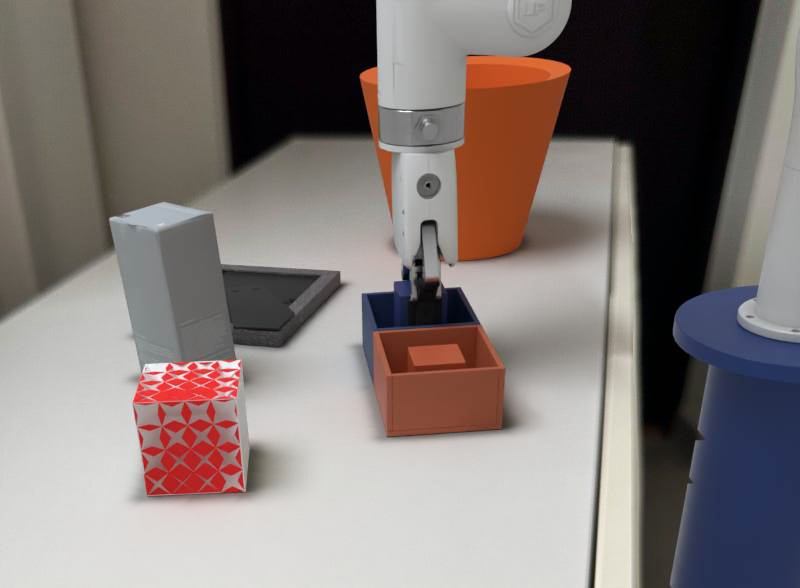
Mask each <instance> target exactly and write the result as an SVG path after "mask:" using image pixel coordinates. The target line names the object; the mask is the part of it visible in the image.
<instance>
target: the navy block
mask: <svg viewBox="0 0 800 588" xmlns="http://www.w3.org/2000/svg"><path fill="white" fill-rule="evenodd" d="M417 281H418V280H417ZM445 288H446V287H445V286H444V283H443V282H442V281H441V298H442V324H447V292H446V290H445ZM393 291H394V327H407V300H410V299H411V298H410V280H406V281H402V280H395V281H393Z"/></svg>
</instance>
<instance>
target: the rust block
mask: <svg viewBox="0 0 800 588" xmlns="http://www.w3.org/2000/svg"><path fill="white" fill-rule="evenodd" d="M455 369H466V361H465V359H464V357H463V355H462V353H461V351H460V349H459V347H458V344H447V345H432V346H417V347H408V373H410V372H425V371H440V370H455Z"/></svg>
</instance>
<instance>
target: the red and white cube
mask: <svg viewBox="0 0 800 588" xmlns="http://www.w3.org/2000/svg"><path fill="white" fill-rule="evenodd" d="M244 381H245V380H244V370H243V359H236V360H220V361H199V362H177V363H156V364H145V366H144V369H143V372H142V374H141V375H140V378H139V381H138V385H137V388H136V391H135V394H134V397H133V400H132V409H133V415H134V420H135V427H136V435H137V440H138V446H139V452H140V460H141V466H142V472H143V473H142V474H143V478H144V479H143V480H144V484H145V492H146V496H147V497H157V496H159V497H160V496H179V495H180V496H181V495H201V494H203V495H204V494H225V493H246V492H247V481H248V472H249V471H248V470H249V459H250V449H251V447H250V438H249V423H248V413H247V403H246V391H245V382H244Z"/></svg>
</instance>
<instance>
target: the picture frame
mask: <svg viewBox="0 0 800 588" xmlns="http://www.w3.org/2000/svg"><path fill="white" fill-rule="evenodd" d="M221 268H222V274H223V281H224V287H225V293H226V299H227V305H228V312H229V318H230V324H231V331H232V337H233V343H234V345H235V344H236V345H245V346H246V345H247V346H258V347H272V348H280V347H281V346H282V345H283V344H284V343H285V342H286V341H287V340H288V339H289V338H290V337H291V336H292V335H293V334H294V332H296V331H297V330H298V329H299V328H300V327H301V326H302V325H303V324H304V323H305V322H306V321H307V320H308V318H309V317H311V316H312V314H314V312H316V310H317V309H319V307H320V306H321V305H322V304H323V303H325V301H326V300H327V299H328V298H329V297H330V296H331V295H332V294H333V293H334V292H335V291H336V290H337V289H338V288H339V287H340V286H341V285H342V282H341V280H342V279H341V271H340V270H328V269H314V268H313V269H311V268H297V267H296V268H293V267H281V266H280V267H277V266H261V265H244V264H225V263H221Z"/></svg>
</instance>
